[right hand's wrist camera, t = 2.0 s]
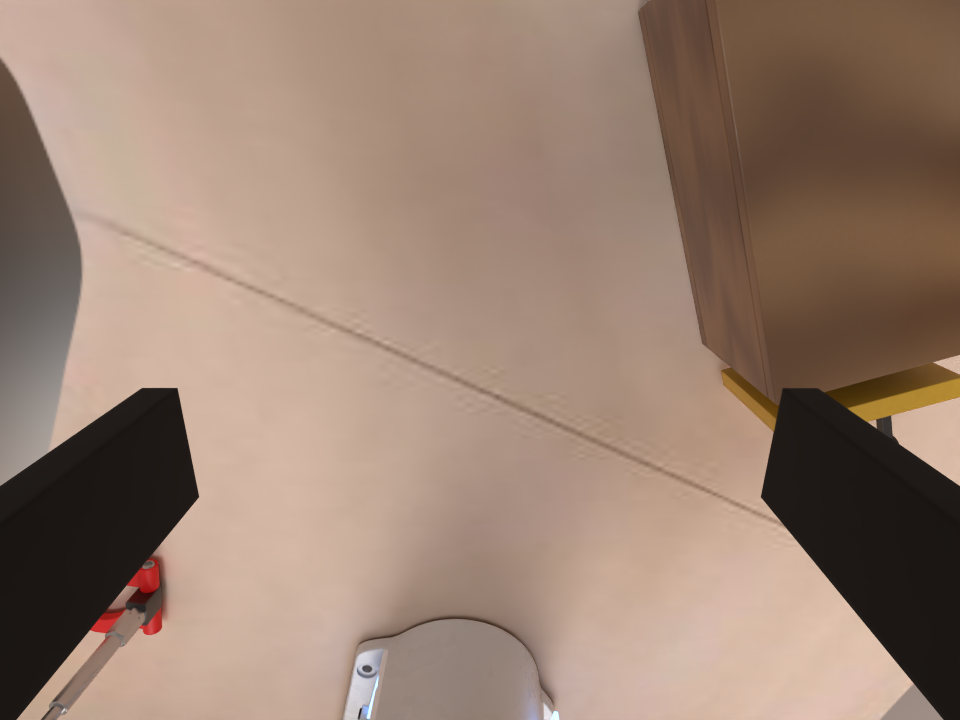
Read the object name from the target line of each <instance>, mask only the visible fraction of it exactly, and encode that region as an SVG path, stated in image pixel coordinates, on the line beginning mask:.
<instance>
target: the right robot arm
mask: <svg viewBox="0 0 960 720" xmlns="http://www.w3.org/2000/svg"><path fill="white" fill-rule="evenodd" d="M198 498H199V494H198V489H197V484H196V479H195V474H194V469H193V464H192V459H191V454H190V449H189V444H188V439H187V434H186V429H185V424H184V419H183V414H182V409H181V404H180V399H179V394H178V389H177V388H142V389H140V390H139V391H137V392H136V393H134V394H133V395H131V396H130V397H129V398H127V399H126V400H124V401H123V402H121V403H120V404H118V405H117V406H115V407H114V408H113V409H111V410H110V411H108V412H107V413H105V414H104V415H102V416H101V417H100V418H98V419H97V420H95V421H94V422H92V423H91V424H89V425H88V426H87V427H85V428H84V429H82V430H81V431H79V432H78V433H76V434H75V435H74V436H72V437H71V438H69V439H68V440H66V441H65V442H63V443H62V444H60V445H59V446H58V447H56V448H55V449H53V450H52V451H50V452H49V453H47V454H46V455H45V456H43V457H42V458H40V459H39V460H37V461H36V462H35V463H33V464H32V465H30V466H29V467H27V468H26V469H24V470H23V471H21V472H20V473H19V474H17V475H16V476H14V477H13V478H11V479H10V480H8V481H7V482H6V483H4V484H3V485H1V486H0V720H17V718H18V717H19V716H20V715H21V713H22V712H23V711H24V710H25V709H26V707H27V706H28V705H29V704H30V702H31V701H32V700H33V699H34V698H35V696H36V695H37V694H38V693H39V691H40V690H41V689H42V688H43V687H44V685H45V684H46V683H47V682H48V681H49V679H50V678H51V677H52V676H53V674H54V673H55V672H56V671H57V670H58V668H59V667H60V666H61V665H62V663H63V662H64V661H65V660H66V659H67V657H68V656H69V655H70V654H71V652H72V651H73V650H74V649H75V648H76V646H77V645H78V644H79V643H80V642H81V640H82V639H83V638H84V637H85V635H86V634H87V633H88V632H89V631H90V629H91V628H92V627H93V626H94V624H95V623H96V622H97V621H98V620H99V618H100V617H101V616H102V615H103V613H104V612H105V611H106V610H107V609H108V607H109V606H110V605H111V604H112V603H113V601H114V600H115V599H116V598H117V596H118V595H119V594H120V593H121V592H122V590H123V589H124V588H125V587H126V585H127V584H128V583H129V582H130V581H131V579H132V578H133V577H134V576H135V574H136V573H137V572H138V571H139V570H140V568H141V567H142V566H143V565H144V564H145V562H146V561H147V560H148V559H149V557H150V556H151V555H152V554H153V553H154V551H155V550H156V549H157V548H158V546H159V545H160V544H161V543H162V542H163V540H164V539H165V538H166V537H167V535H168V534H169V533H170V532H171V531H172V529H173V528H174V527H175V526H176V525H177V523H178V522H179V521H180V520H181V518H182V517H183V516H184V515H185V514H186V512H187V511H188V510H189V509H190V507H191V506H192V505H193V504H194V503H195V501H196V500H197V499H198ZM761 498H762V499H763V500H764V501H765V503H766V504H767V505H768V506H769V507H770V509H771V510H772V511H773V512H774V514H775V515H776V516H777V517H778V518H779V520H780V521H781V522H782V523H783V525H784V526H785V527H786V528H787V529H788V531H789V532H790V533H791V534H792V535H793V537H794V538H795V539H796V540H797V542H798V543H799V544H800V545H801V546H802V548H803V549H804V550H805V551H806V553H807V554H808V555H809V556H810V557H811V559H812V560H813V561H814V562H815V564H816V565H817V566H818V567H819V568H820V570H821V571H822V572H823V573H824V574H825V576H826V577H827V578H828V579H829V581H830V582H831V583H832V584H833V585H834V587H835V588H836V589H837V590H838V592H839V593H840V594H841V595H842V596H843V598H844V599H845V600H846V601H847V603H848V604H849V605H850V606H851V607H852V609H853V610H854V611H855V612H856V613H857V615H858V616H859V617H860V618H861V620H862V621H863V622H864V623H865V624H866V626H867V627H868V628H869V629H870V631H871V632H872V633H873V634H874V635H875V637H876V638H877V639H878V640H879V642H880V643H881V644H882V645H883V646H884V648H885V649H886V650H887V651H888V652H889V654H890V655H891V656H892V657H893V659H894V660H895V661H896V662H897V663H898V665H899V666H900V667H901V668H902V670H903V671H904V672H905V673H906V674H907V676H908V677H909V678H910V679H911V681H912V682H913V683H914V684H915V685H916V687H917V688H918V689H919V690H920V691H921V693H922V694H923V695H924V696H925V697H926V699H927V700H928V701H929V702H930V704H931V705H932V706H933V707H934V709H935V710H936V711H937V712H938V713H939V715H940V716H941V717H942V718H943V719H944V720H960V486H959V485H957V484H956V483H954V482H953V481H952V480H950V479H949V478H947V477H946V476H944V475H943V474H941V473H940V472H939V471H937V470H936V469H934V468H933V467H931V466H930V465H928V464H927V463H926V462H924V461H923V460H921V459H920V458H918V457H917V456H915V455H914V454H913V453H911V452H910V451H908V450H907V449H905V448H904V447H902V446H901V445H900V444H898V443H897V442H895V441H894V440H892V439H891V438H889V437H888V436H886V435H885V434H884V433H882V432H881V431H879V430H878V429H876V428H875V427H873V426H872V425H871V424H869V423H868V422H866V421H865V420H863V419H862V418H860V417H859V416H858V415H856V414H855V413H853V412H852V411H850V410H849V409H847V408H846V407H845V406H843V405H842V404H840V403H839V402H837V401H836V400H834V399H833V398H831V397H830V396H829V395H827V394H826V393H824V392H823V391H821V390H820V389H818V388H783V389H782V394H781V399H780V404H779V409H778V414H777V419H776V424H775V429H774V434H773V439H772V444H771V449H770V454H769V459H768V464H767V469H766V474H765V479H764V484H763V489H762V494H761Z"/></svg>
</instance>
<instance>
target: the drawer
mask: <svg viewBox="0 0 960 720" xmlns="http://www.w3.org/2000/svg"><path fill="white" fill-rule="evenodd" d="M721 373H722V378H723V384H724V386H725V387H726V388H727V389H729V390H730V391H731V392H732V393H733V394H734V395H735V396H736V397H737V398H738V399H739V400H740V401H741V402H742V403H743V404H745V405H746V406H747V407H748V408H749V409H750V410H751V411H752V412H753V413H754V414H755V415H756V416H757V417H758V418H760V419H761V420H762V421H763V422H764V423H765V424H766V425H767V426H768V427H769V428H770V429H771V430H772V431H773V432H774V429H775V424H776V419H777V414H778V409H779V405H776V404H775V403H774V402H772V401H771V400H770V399H769V398H767V397H766V396H765V395H764V394H762V393H761V392H760V391H759V390H758V389H756V388H755V387H754V386H753V385H752V384H750V383H749V382H748V381H747V380H746V379H744V378H743V377H742V376H741V375H740V374H738V373H737V372H736V371H735V370H734V369H733V368H728V369H724V370H721ZM824 393H826V394H827V395H829V396H830V397H831V398H833V399H834V400H836V401H837V402H839V403H840V404H842V405H843V406H845V407H846V408H847V409H849V410H850V411H852V412H853V413H855V414H856V415H858V416H859V417H860V418H862V419H863V420H865V421H866V422H868V421H872V420H876V422H877V429H878V430H879V431H881V432H882V433H884V434H885V435H886V436H888V437H889V438H891V439H892V440H894V441H895V442H897V443H898V441H897V439H896V438H895V437H894V436H893V435H892V422H891V415H894V414H898V413H902V412H906V411H909V410H913V409H917V408H921V407H924V406H928V405H932V404H936V403H939V402H943V401H947V400H950V399H954V398H958V397H960V375H959V374H957V373H955V372H953V371H950V370H948V369H946V368H944V367H942V366H939V365H937V364H935V363H933V362H932V363H928V364H924V365H921V366H917V367H914V368H910V369H906V370H903V371H899V372H895V373H892V374H888V375H884V376H881V377H877V378H874V379H870V380H866V381H863V382H859V383H855V384H852V385H848V386H844V387H841V388H837V389H834V390H830V391H826V392H824ZM898 444H899V443H898Z"/></svg>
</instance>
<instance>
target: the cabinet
mask: <svg viewBox="0 0 960 720" xmlns="http://www.w3.org/2000/svg"><path fill="white" fill-rule="evenodd" d="M638 13H639V18H640V23H641V29H642V34H643V39H644V44H645V49H646V54H647V60H648V65H649V70H650V75H651V80H652V85H653V91H654V96H655V101H656V106H657V111H658V116H659V122H660V127H661V132H662V137H663V142H664V147H665V153H666V158H667V163H668V168H669V173H670V178H671V184H672V189H673V194H674V199H675V204H676V209H677V215H678V220H679V225H680V230H681V235H682V240H683V246H684V251H685V256H686V261H687V266H688V271H689V277H690V282H691V287H692V292H693V297H694V302H695V307H696V313H697V318H698V323H699V328H700V333H701V338H702V343H703V344H704V345H705V346H706V347H708V348H709V349H710V350H711V351H712V352H713V353H715V354H716V355H717V356H718V357H719V358H721V359H722V360H723V361H724V362H725V363H727V364H728V365H729V366H730V367H731V368H733V369H734V370H735V371H736V372H737V373H738V374H740V375H741V376H742V377H743V378H744V379H746V380H747V381H748V382H749V383H750V384H752V385H753V386H754V387H755V388H756V389H758V390H759V391H760V392H761V393H762V394H764V395H765V396H766V397H767V398H769V399H770V400H771V401H772V402H774V403H775V404H776V405H779V404H780V399H781V394H782V389H783V388H818V389H820V390H821V391H823V392H826V391H830V390H834V389H837V388H841V387H844V386H848V385H852V384H855V383H859V382H863V381H866V380H870V379H874V378H877V377H881V376H884V375H888V374H892V373H895V372H899V371H903V370H906V369H910V368H914V367H917V366H921V365H924V364H928V363H932V362H935V361H939V360H943V359H946V358H950V357H954V356H957V355H960V0H650V1H649V2H648V3H647V4H646V5H645V6H644V7H642V8H641V9H640V10H639V11H638Z"/></svg>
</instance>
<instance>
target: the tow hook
mask: <svg viewBox="0 0 960 720" xmlns="http://www.w3.org/2000/svg"><path fill="white" fill-rule="evenodd" d="M127 586H134V587H139V588H138V589H137V590H136V592H135V593H134V594H133V595H132V596H131V597H130V598H129V600H128V601H127V602H126V609H125V610H124V611H121V612H118V613H111V614H108V613H103V615H102V616H101V617H100V618H99V620H98V621H97V622H96V623H95V624H94V626H93V627H92V628H91V629H90V630H91V631H95V632H101V633H106V634H105V640H104V641H103V642H102V643H101V645H100V646H99V647H98V648H97V649H96V650H95V652H94V653H93V654H92V655H91V656H90V657H89V659H88V660H87V661H86V662H85V663H84V665H83V666H82V667H81V668H80V669H79V670H78V672H77V673H76V674H75V675H74V676H73V677H72V679H71V680H70V681H69V682H68V683H67V684H66V686H65V687H64V688H63V689H62V690H61V692H60V693H59V694H58V695H57V696H56V697H55V699H54V700H53V701H52V702H51V703H50V705H49V711H48V712H47V713H46V714H45V715H44V717H43V718H42V719H41V720H57V719H58V718H59V716H60V715H64V714H66V713H67V712H68V710H69V709H70V708H71V707H72V705H73V704H74V703H75V702H76V700H77V699H78V698H79V697H80V695H81V694H82V693H83V692H84V691H85V689H86V688H87V687H88V686H89V684H90V683H91V682H92V681H93V679H94V678H95V677H96V676H97V674H98V673H99V672H100V671H101V669H102V668H103V667H104V666H105V665H106V663H107V662H108V661H109V660H110V658H111V657H112V656H113V655H114V653H115V652H116V651H117V650H118V648H119V647H122V646H124V645H126V644H127V642H128V641H129V640H130V639H131V637H132V636H133V635H134V634H135V632H136V631H137V630H138V629H139V628H141V629H143V632H144V634H146V635H153V634H156V633H158V632H159V631H160V630H161V628H162V616H161V606H162V592H161V584H160V583H159V567H158V561H157V560H155V559H148V560H147V561H146V562H145V564H144V565H143V566H142V567H141V568H140V570H139V571H138V572H137V573H136V574H135V576H134V577H133V578H132V579H131V581H130V582H129V583H128V584H127Z"/></svg>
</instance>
